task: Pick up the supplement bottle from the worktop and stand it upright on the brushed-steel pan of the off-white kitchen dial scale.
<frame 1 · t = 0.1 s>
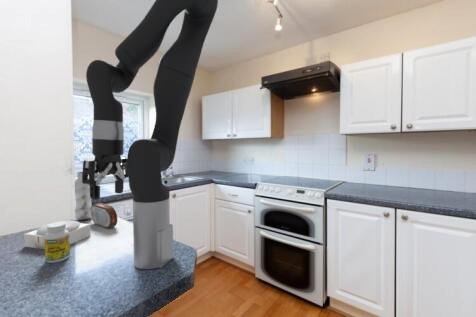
hand: (107, 195, 64), 17 cm above the countertop, tool pointing down, fingers open, 8 cm apart
plastic bottle: (84, 219, 96), on the countertop
supplement bottle: (58, 259, 63), on the countertop
tin: (103, 226, 89), on the countertop
kitchen scale: (59, 240, 75), on the countertop
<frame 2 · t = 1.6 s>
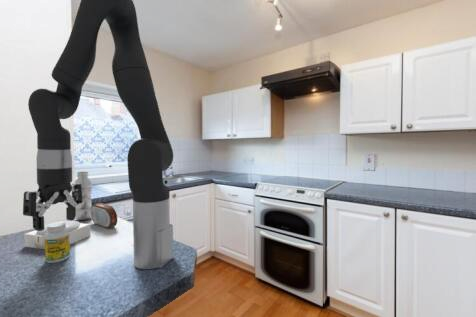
hand: (56, 224, 63), 9 cm above the countertop, tool pointing down, fingers open, 8 cm apart
nothing on the countertop moved.
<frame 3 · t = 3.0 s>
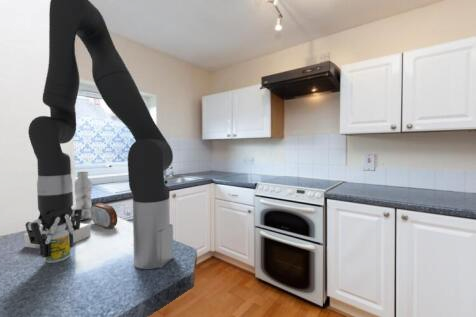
hand: (57, 251, 63), 2 cm above the countertop, tool pointing down, fingers closed on supplement bottle, 5 cm apart
supplement bottle: (58, 259, 63), on the countertop, touching gripper
everything else where it was.
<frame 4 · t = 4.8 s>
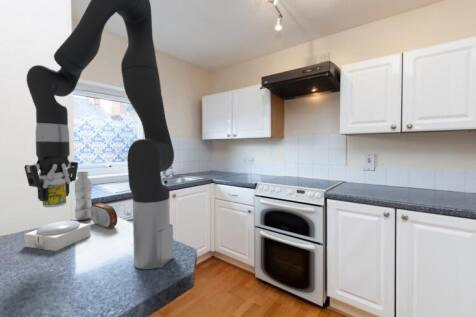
hand: (54, 198, 67), 16 cm above the countertop, tool pointing down, fingers closed on supplement bottle, 5 cm apart
supplement bottle: (54, 206, 67), point 14 cm above the countertop, touching gripper
everything else where it was.
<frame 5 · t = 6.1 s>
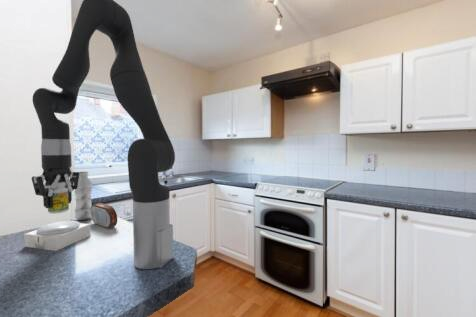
hand: (58, 205, 74), 12 cm above the countertop, tool pointing down, fingers closed on supplement bottle, 5 cm apart
supplement bottle: (58, 212, 74), point 10 cm above the countertop, touching gripper
everything else where it was.
when the fingers open (8 cm above the countertop, at t = 7.1 s): supplement bottle drops 2 cm, resting on kitchen scale.
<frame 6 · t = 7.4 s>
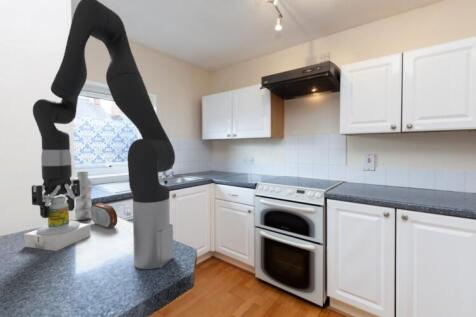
hand: (58, 213, 75), 9 cm above the countertop, tool pointing down, fingers open, 7 cm apart
supplement bottle: (58, 227, 75), point 5 cm above the countertop, touching kitchen scale
everything else where it was.
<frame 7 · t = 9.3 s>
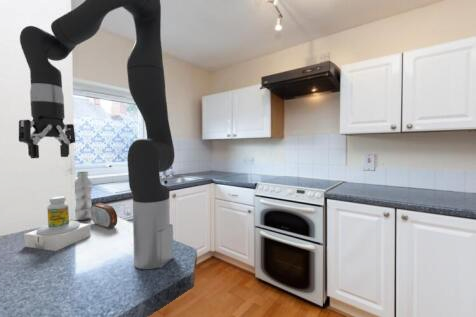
hand: (50, 157, 68), 28 cm above the countertop, tool pointing down, fingers open, 8 cm apart
nothing on the countertop moved.
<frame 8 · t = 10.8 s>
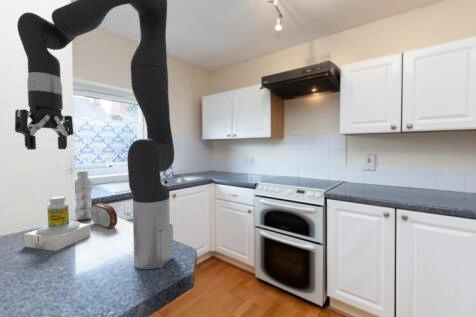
hand: (47, 149, 66), 30 cm above the countertop, tool pointing down, fingers open, 8 cm apart
nothing on the countertop moved.
at the end: supplement bottle inside the target area on the kitchen scale (0.2 cm from its centre), point 4.6 cm above the kitchen scale's base; supplement bottle tilted 0°; the gripper is holding nothing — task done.
